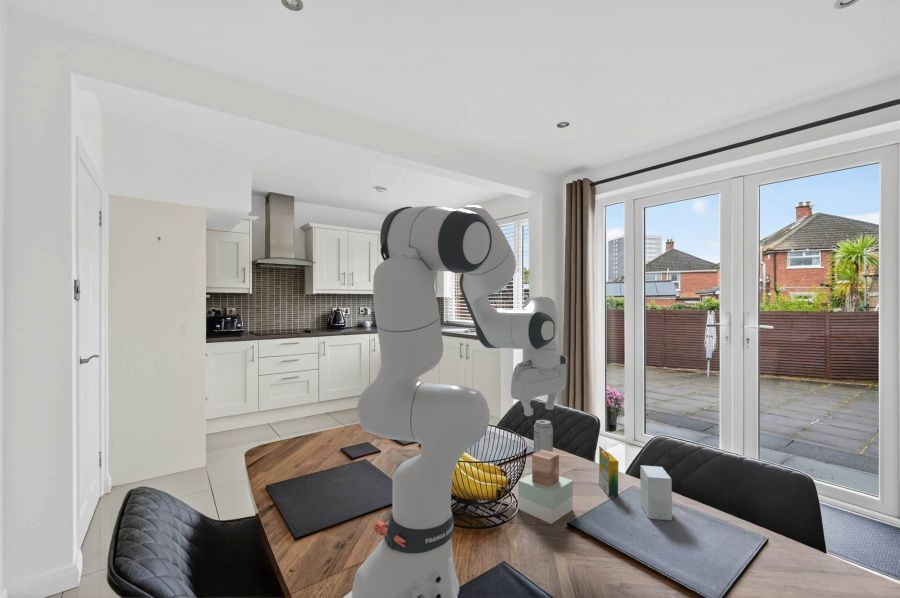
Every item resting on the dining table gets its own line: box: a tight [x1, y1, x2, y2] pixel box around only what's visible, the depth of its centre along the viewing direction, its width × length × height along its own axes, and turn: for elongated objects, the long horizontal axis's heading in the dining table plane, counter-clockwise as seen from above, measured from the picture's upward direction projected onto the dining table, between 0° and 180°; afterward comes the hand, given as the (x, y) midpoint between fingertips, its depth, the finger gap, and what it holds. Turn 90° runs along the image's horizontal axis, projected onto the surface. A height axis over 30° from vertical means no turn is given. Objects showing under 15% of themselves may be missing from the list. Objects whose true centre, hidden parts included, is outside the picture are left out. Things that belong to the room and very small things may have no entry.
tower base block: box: [517, 494, 574, 525], centre depth 109 cm, size 10×10×4 cm
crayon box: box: [598, 445, 619, 497], centre depth 120 cm, size 7×3×12 cm, turn 0°
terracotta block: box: [531, 450, 560, 487], centre depth 108 cm, size 5×5×7 cm
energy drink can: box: [533, 419, 554, 454], centre depth 135 cm, size 6×6×15 cm
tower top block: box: [518, 473, 574, 509], centre depth 108 cm, size 10×10×4 cm
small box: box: [639, 465, 673, 521], centre depth 107 cm, size 8×6×10 cm
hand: (539, 412), depth 108 cm, fingers open, 8 cm apart
